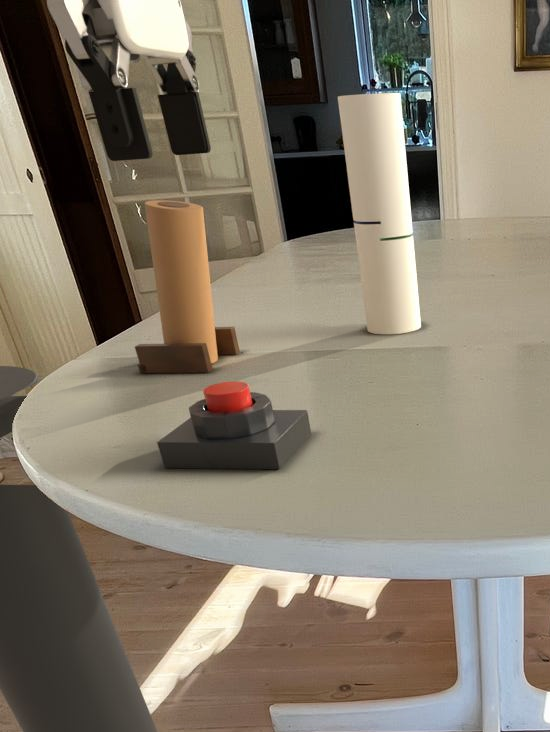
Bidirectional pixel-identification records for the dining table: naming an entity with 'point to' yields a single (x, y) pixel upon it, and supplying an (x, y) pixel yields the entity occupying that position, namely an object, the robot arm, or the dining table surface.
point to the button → (227, 397)
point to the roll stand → (185, 354)
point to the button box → (236, 437)
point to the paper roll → (182, 272)
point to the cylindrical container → (381, 210)
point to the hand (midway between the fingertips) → (163, 156)
